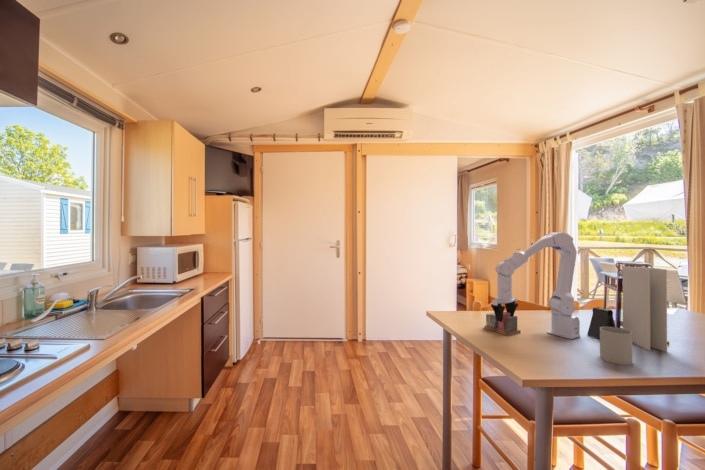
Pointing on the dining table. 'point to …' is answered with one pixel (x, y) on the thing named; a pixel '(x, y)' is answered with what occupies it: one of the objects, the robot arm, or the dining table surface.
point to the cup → (616, 345)
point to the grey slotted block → (510, 325)
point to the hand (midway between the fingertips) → (504, 320)
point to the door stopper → (600, 321)
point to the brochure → (645, 306)
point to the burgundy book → (503, 321)
